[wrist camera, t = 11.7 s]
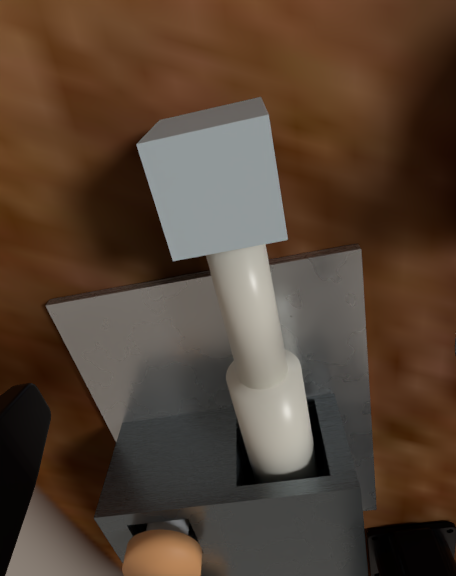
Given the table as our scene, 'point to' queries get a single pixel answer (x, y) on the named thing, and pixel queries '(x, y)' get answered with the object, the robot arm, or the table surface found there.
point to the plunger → (163, 551)
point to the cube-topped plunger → (236, 266)
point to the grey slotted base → (230, 417)
